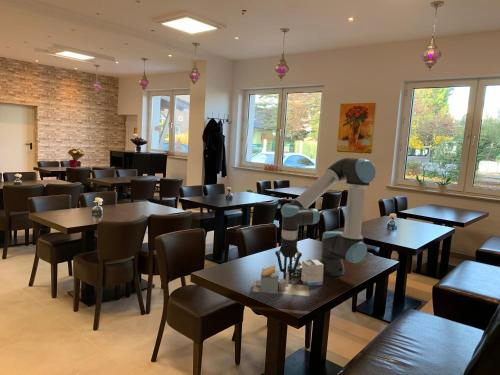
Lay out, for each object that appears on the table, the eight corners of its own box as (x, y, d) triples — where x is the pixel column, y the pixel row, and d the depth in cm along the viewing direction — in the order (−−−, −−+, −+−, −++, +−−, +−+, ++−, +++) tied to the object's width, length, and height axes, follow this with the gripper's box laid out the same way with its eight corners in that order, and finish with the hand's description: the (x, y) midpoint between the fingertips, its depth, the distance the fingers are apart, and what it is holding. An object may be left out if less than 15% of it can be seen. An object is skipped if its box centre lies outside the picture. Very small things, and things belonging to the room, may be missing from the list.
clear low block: (285, 286, 183) (285, 279, 183) (285, 291, 177) (285, 284, 176) (256, 283, 184) (257, 277, 184) (255, 288, 178) (256, 281, 177)
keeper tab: (275, 266, 184) (274, 264, 184) (274, 273, 174) (274, 271, 174) (262, 270, 185) (262, 268, 185) (261, 277, 175) (260, 275, 175)
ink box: (322, 286, 188) (324, 261, 186) (307, 288, 185) (309, 262, 184) (315, 280, 196) (316, 256, 194) (300, 281, 193) (302, 256, 192)
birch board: (308, 287, 185) (308, 285, 185) (309, 298, 172) (309, 296, 172) (254, 283, 188) (254, 281, 188) (251, 293, 175) (251, 291, 175)
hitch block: (278, 283, 186) (278, 270, 185) (277, 292, 174) (278, 279, 173) (262, 282, 187) (262, 269, 186) (260, 291, 175) (261, 278, 174)
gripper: (302, 237, 180) (300, 284, 183) (275, 235, 181) (273, 282, 184) (303, 241, 172) (300, 289, 175) (275, 239, 174) (273, 287, 176)
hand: (286, 285), depth 179 cm, fingers closed
